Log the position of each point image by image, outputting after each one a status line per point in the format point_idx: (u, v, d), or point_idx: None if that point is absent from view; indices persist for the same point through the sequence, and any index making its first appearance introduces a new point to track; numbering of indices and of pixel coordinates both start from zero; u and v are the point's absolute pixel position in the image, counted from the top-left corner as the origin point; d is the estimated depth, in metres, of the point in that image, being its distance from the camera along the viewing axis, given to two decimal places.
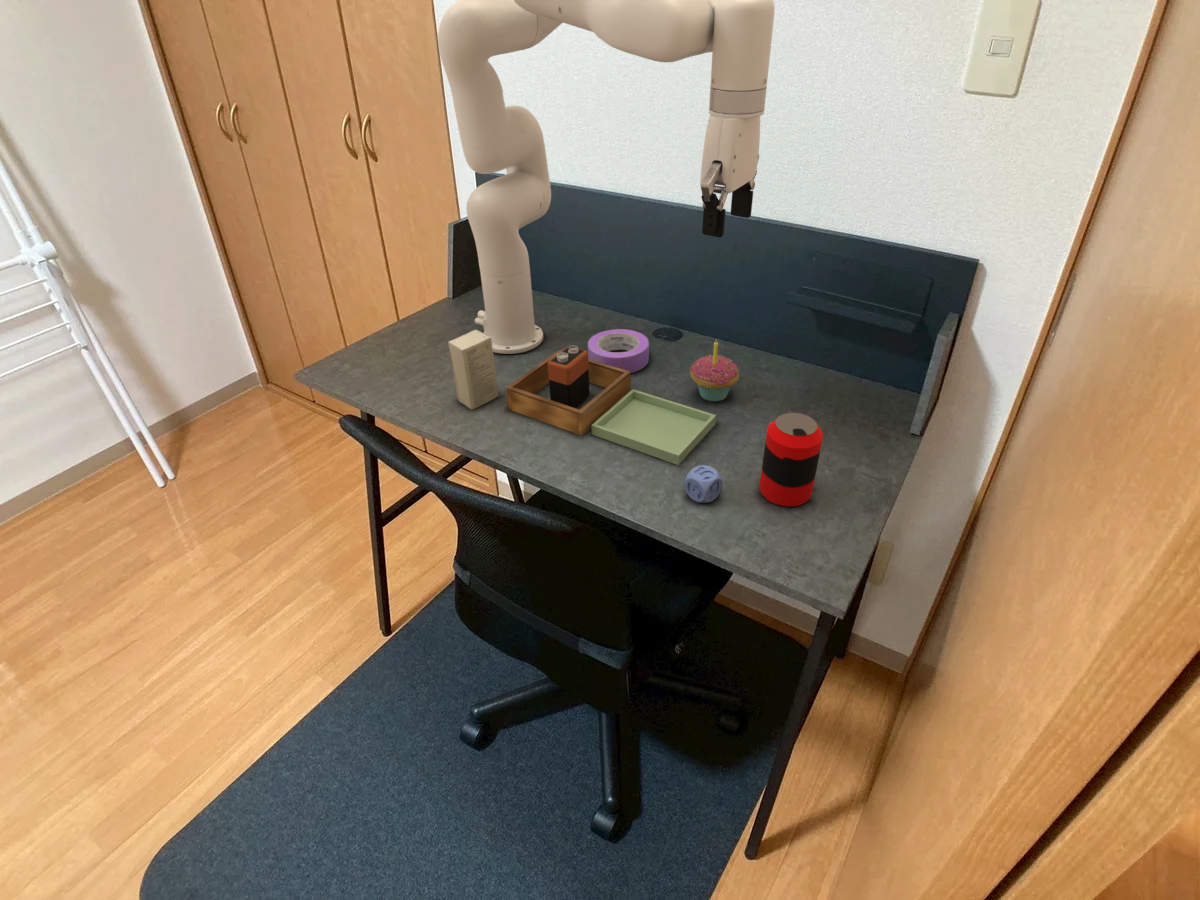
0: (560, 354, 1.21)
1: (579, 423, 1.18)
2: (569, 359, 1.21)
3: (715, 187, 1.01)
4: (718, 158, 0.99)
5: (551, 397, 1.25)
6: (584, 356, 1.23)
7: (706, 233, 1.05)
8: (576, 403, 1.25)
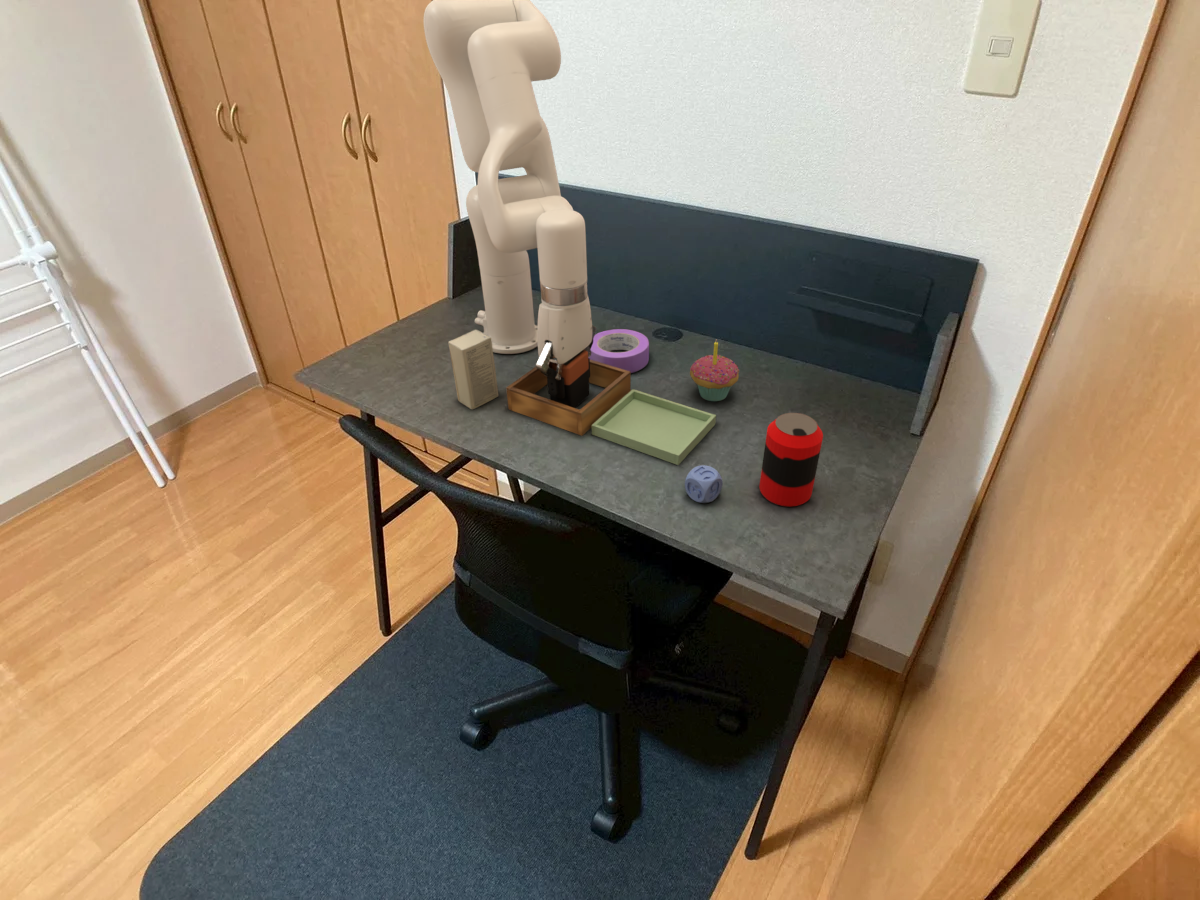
0: None
1: (579, 423, 1.18)
2: None
3: (552, 360, 1.19)
4: (548, 338, 1.16)
5: (551, 397, 1.25)
6: (584, 357, 1.23)
7: (551, 394, 1.23)
8: (576, 403, 1.25)
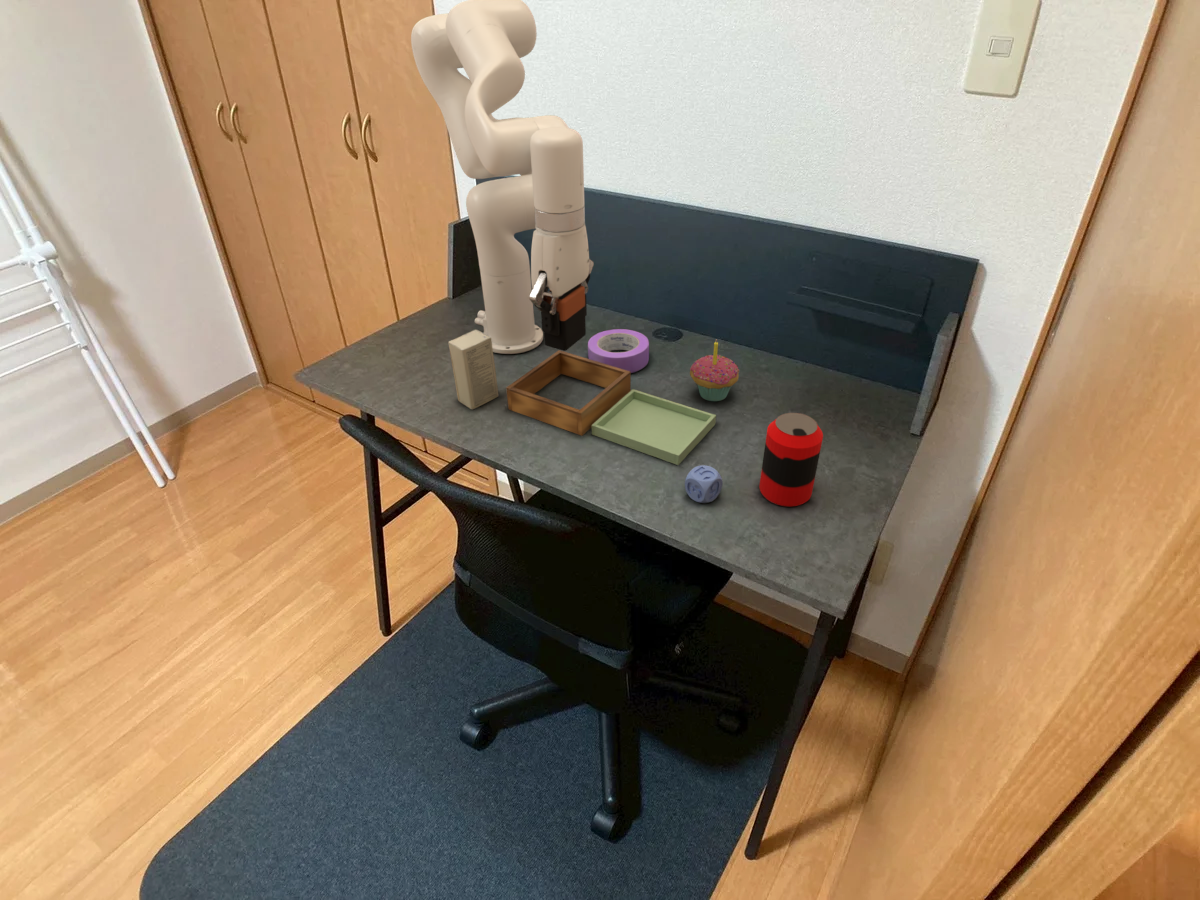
0: None
1: (579, 423, 1.18)
2: (565, 293, 1.15)
3: (546, 293, 1.13)
4: (543, 268, 1.09)
5: (545, 335, 1.18)
6: (580, 292, 1.16)
7: (545, 331, 1.17)
8: (571, 342, 1.19)
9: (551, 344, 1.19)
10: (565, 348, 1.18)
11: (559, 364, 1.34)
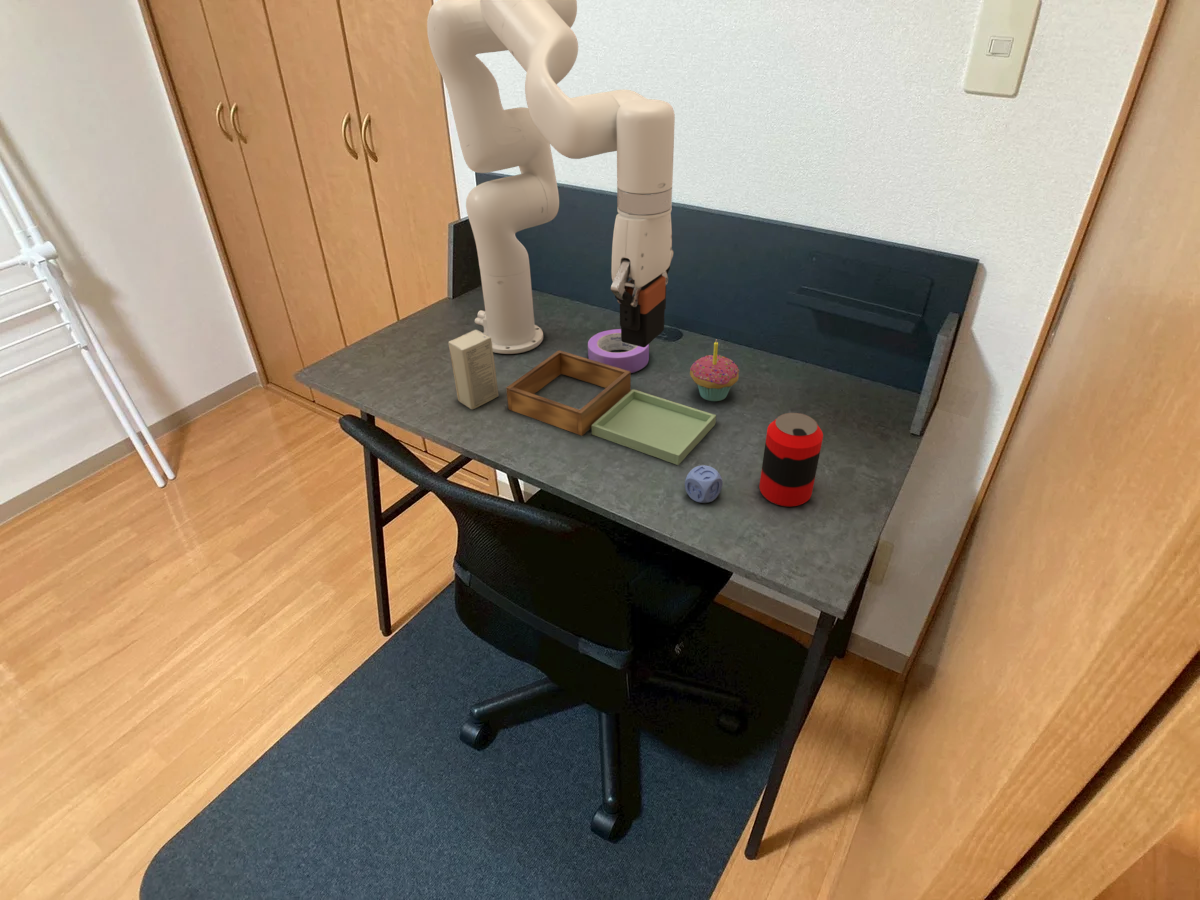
0: None
1: (579, 423, 1.18)
2: (646, 284, 1.05)
3: (627, 284, 1.03)
4: (626, 256, 0.99)
5: (622, 330, 1.08)
6: (661, 282, 1.07)
7: (623, 326, 1.07)
8: (651, 337, 1.09)
9: (628, 340, 1.09)
10: (645, 344, 1.08)
11: (559, 364, 1.34)
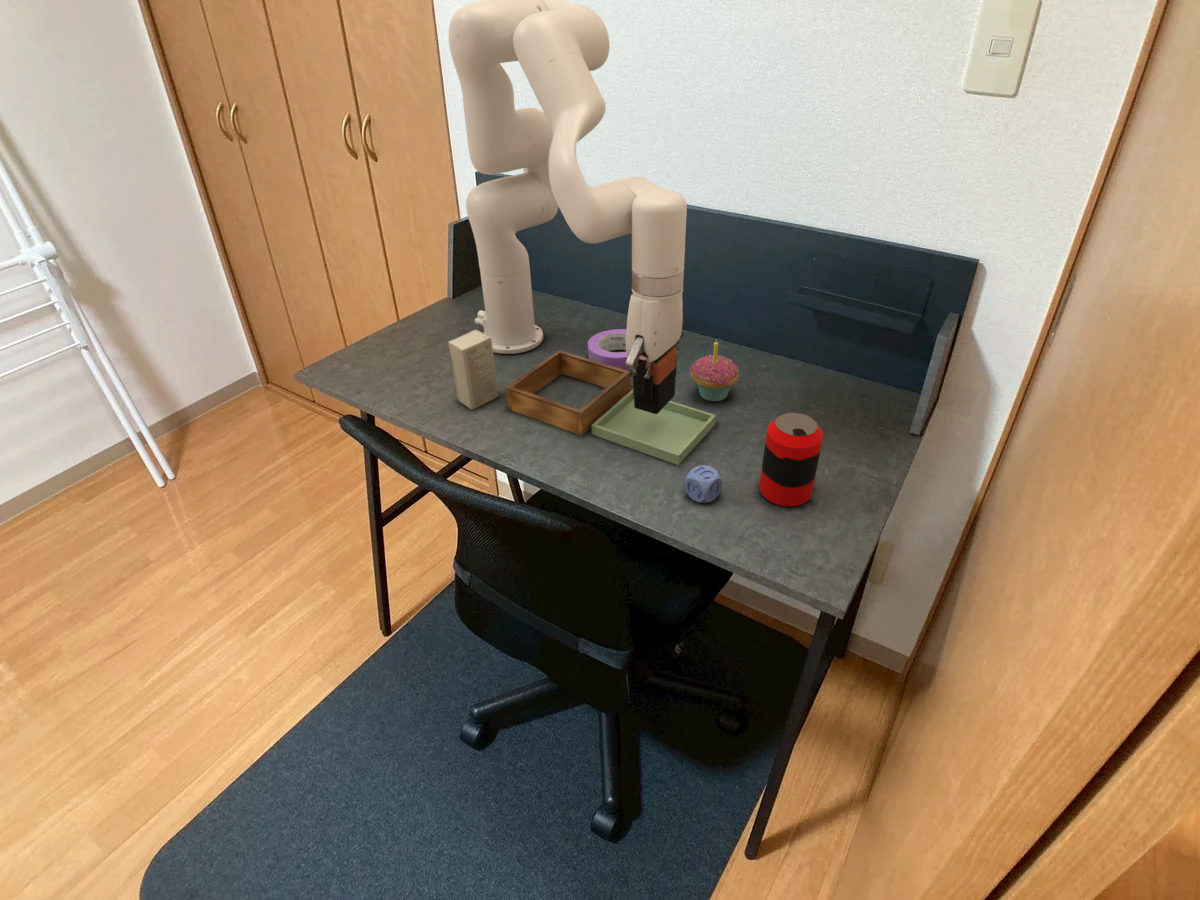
0: None
1: (579, 423, 1.18)
2: None
3: (641, 357, 1.08)
4: (640, 333, 1.05)
5: (636, 398, 1.14)
6: (673, 353, 1.12)
7: (637, 394, 1.13)
8: (663, 404, 1.15)
9: (641, 407, 1.14)
10: (657, 411, 1.14)
11: (559, 364, 1.34)
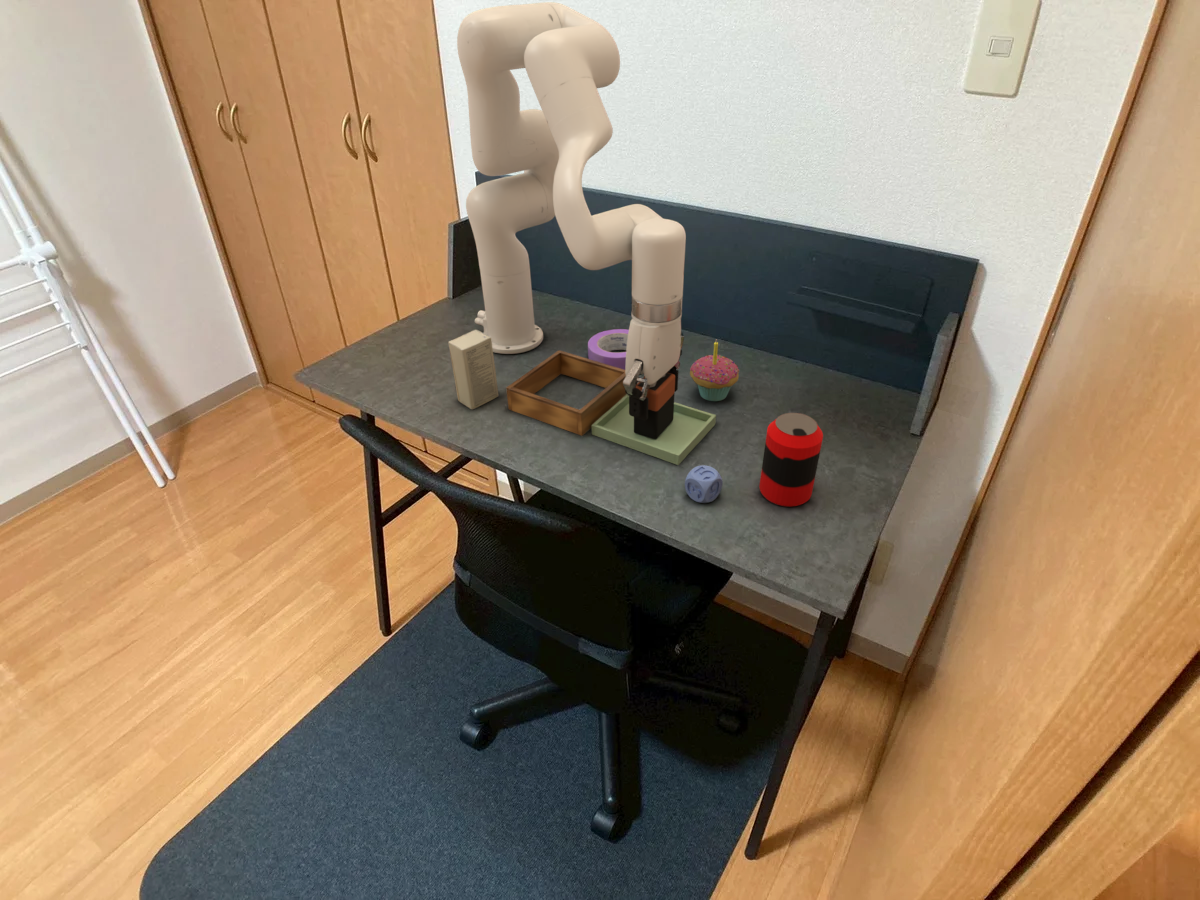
0: None
1: (579, 423, 1.18)
2: (657, 384, 1.13)
3: (638, 379, 1.10)
4: (639, 357, 1.07)
5: (635, 423, 1.17)
6: (671, 381, 1.15)
7: (632, 415, 1.14)
8: (661, 430, 1.18)
9: (641, 432, 1.17)
10: (656, 437, 1.17)
11: (559, 364, 1.34)
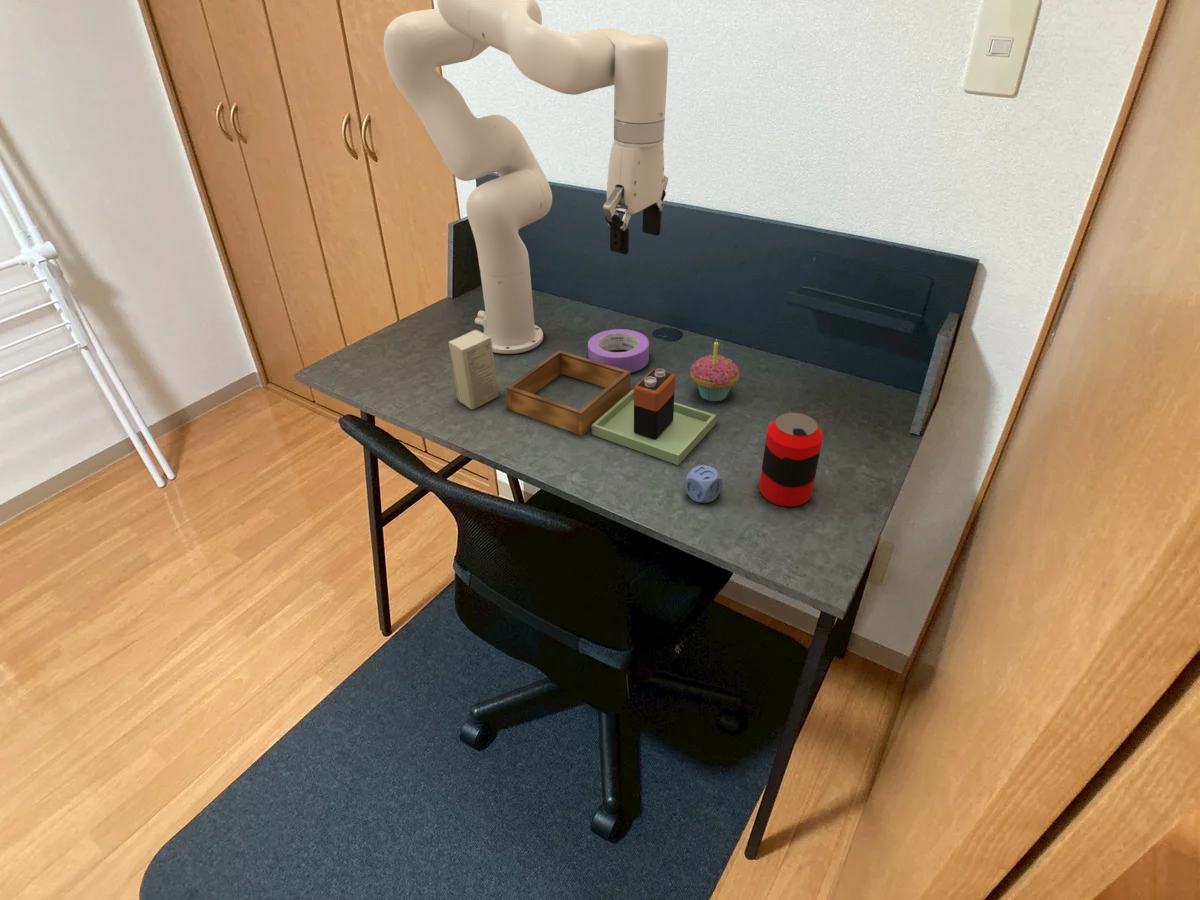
0: (647, 378, 1.14)
1: (579, 423, 1.18)
2: (657, 383, 1.13)
3: (619, 208, 1.11)
4: (620, 183, 1.08)
5: (635, 423, 1.17)
6: (671, 380, 1.15)
7: (613, 250, 1.14)
8: (661, 430, 1.18)
9: (641, 432, 1.17)
10: (656, 437, 1.17)
11: (559, 364, 1.34)
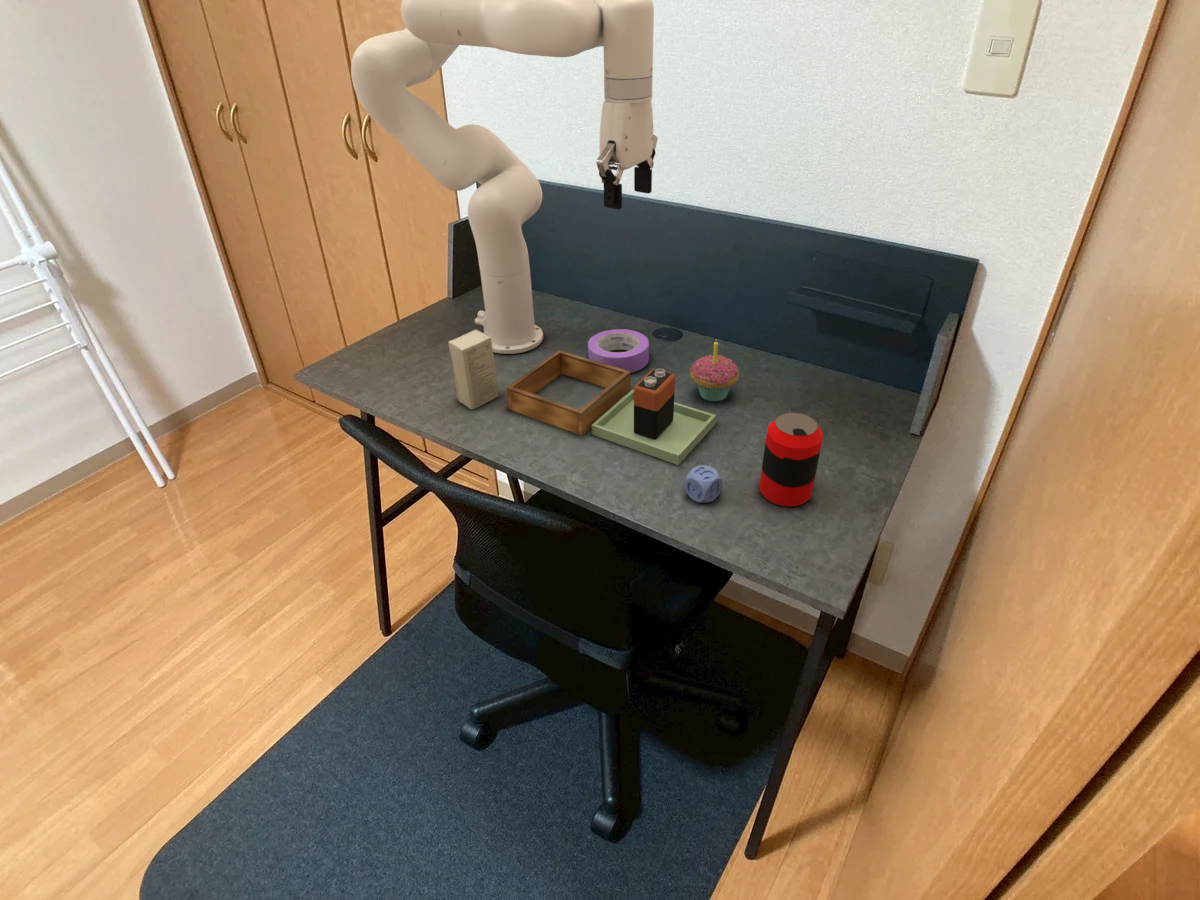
0: (647, 378, 1.14)
1: (579, 423, 1.18)
2: (657, 383, 1.13)
3: (612, 164, 1.15)
4: (612, 138, 1.13)
5: (635, 423, 1.17)
6: (671, 380, 1.15)
7: (607, 206, 1.19)
8: (661, 430, 1.18)
9: (641, 432, 1.17)
10: (656, 437, 1.17)
11: (559, 364, 1.34)
